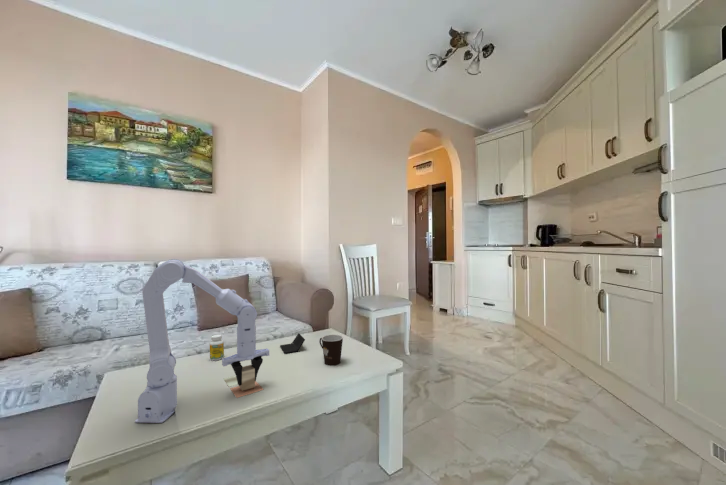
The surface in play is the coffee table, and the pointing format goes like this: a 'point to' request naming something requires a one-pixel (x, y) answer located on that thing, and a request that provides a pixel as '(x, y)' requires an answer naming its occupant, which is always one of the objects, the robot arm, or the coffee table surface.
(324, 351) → the coffee mug
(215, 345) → the supplement bottle
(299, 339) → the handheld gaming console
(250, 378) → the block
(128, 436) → the coffee table surface
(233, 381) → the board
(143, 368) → the coffee table surface
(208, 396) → the coffee table surface
